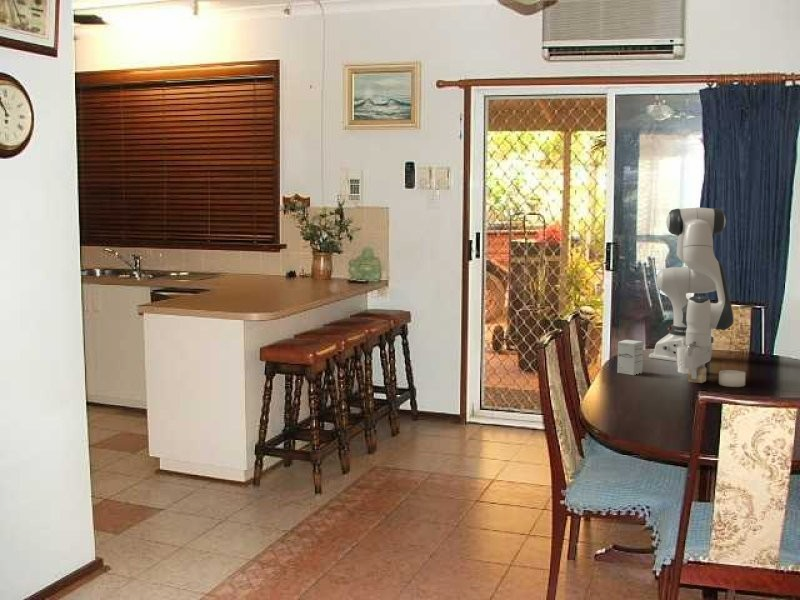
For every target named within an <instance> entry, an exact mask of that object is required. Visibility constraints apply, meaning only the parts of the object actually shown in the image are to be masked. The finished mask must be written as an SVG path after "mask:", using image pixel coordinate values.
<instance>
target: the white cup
mask: <svg viewBox="0 0 800 600" xmlns="http://www.w3.org/2000/svg"><path fill="white" fill-rule="evenodd" d="M688 347H689V346H677V361H676V365H677V373H679V374H684V375H688V372H689V369H687V368H685V367H684V358H685V350H686V348H688Z"/></svg>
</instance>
